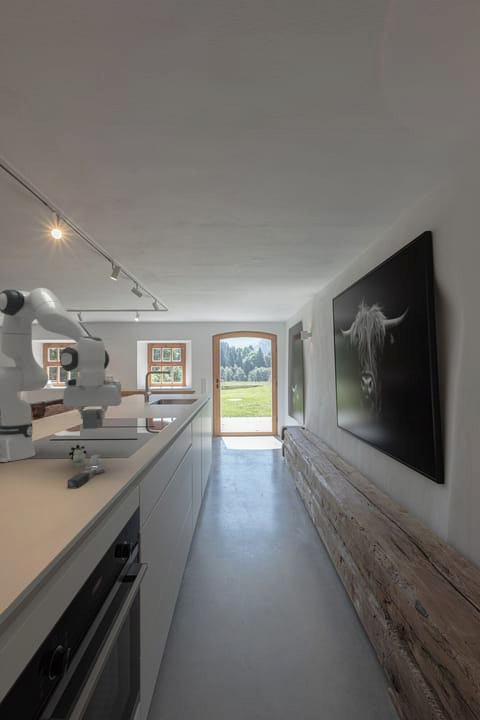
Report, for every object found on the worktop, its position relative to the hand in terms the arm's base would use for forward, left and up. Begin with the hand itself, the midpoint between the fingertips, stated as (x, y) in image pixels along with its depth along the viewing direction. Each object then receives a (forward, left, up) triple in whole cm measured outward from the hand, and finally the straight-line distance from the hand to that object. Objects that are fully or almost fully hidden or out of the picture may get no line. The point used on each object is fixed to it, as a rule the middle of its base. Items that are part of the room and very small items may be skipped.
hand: (92, 418), depth 127 cm
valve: (-11, +12, -20) cm, 26 cm away
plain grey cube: (0, 0, -3) cm, 3 cm away
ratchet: (0, -6, -19) cm, 20 cm away
